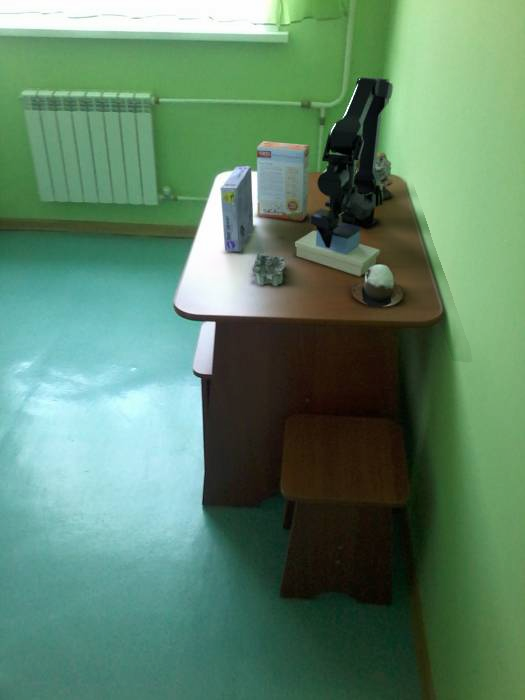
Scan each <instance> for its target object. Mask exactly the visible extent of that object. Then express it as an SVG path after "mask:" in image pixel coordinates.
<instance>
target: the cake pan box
mask: <svg viewBox="0 0 525 700" xmlns="http://www.w3.org/2000/svg"><path fill="white" fill-rule="evenodd" d="M252 177H253V176H252V166H247V165H246V166H235V168H234V169H233V170H232V172H231V173H230V175H229V176H228V177H227V178H226V180H225V182H224V183H223V184H222V186H221V187H220V199H221V200H220V201H221V214H222V227H223V228H222V229H223V242H224V251H225V252H233V253H241V252H242V250H243V247H244V246H245V244H246V243H247V241H248V239H249V237H250V235H251V232H252V230H253V228H254V207H253V205H254V203H253V187H252V186H253V183H252Z"/></svg>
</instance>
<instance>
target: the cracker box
mask: <svg viewBox="0 0 525 700" xmlns="http://www.w3.org/2000/svg"><path fill="white" fill-rule="evenodd" d="M309 169H310V145H309V144H299V143H298V144H297V143H288V142H287V143H286V142H276V141H265V140H263V141H262V142H261V143H259V145H258V146H256V183H257V185H256V186H257V188H256V189H257V194H256V195H257V197H256V199H257V201H256V202H257V216H258V217H263V218H264V217H265V218H273V219H281V220H289V221H297V222H303V221H304V220H305V218H306V216H307V215H308V200H309V199H308V198H309V173H310V171H309Z"/></svg>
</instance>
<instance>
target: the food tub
mask: <svg viewBox="0 0 525 700" xmlns="http://www.w3.org/2000/svg"><path fill="white" fill-rule="evenodd" d="M338 225H339V226H338V227H337V228H336V229H334V231H333V237H332V242H331V246H330V248H327V247H326V246H325V244H324V242H323V240H322V238H321V235H320V233H319V231H318V230H317V228H316V227H315V231H317V235H316V246H319V247H323V248H326V249H329V250H332V251H336V252H339V253H342V254H345V255H347V254H348V253H349V252H351V251H352V250H354V249H355V248H356V247H358V246H359V244H360V235H361V231H362V226H358V225H355V224H353V225H351V224H347V223H344V222H342V221H340V220H339V223H338Z"/></svg>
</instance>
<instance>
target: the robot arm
mask: <svg viewBox="0 0 525 700" xmlns="http://www.w3.org/2000/svg"><path fill="white" fill-rule="evenodd" d="M355 82H356V83H355V90H354V92H353V95H352V97H351V100H350V102H349V105H348V106H347V109H346V111H345V113H344V116H343V117H342V118H341V119H340V120H337V121H336V122H335V124H334V125H333V127H332V129H331V131H329V133H328V134H327V139H326V142H325V145H324V150H323V154H322V159H321V161H322V162H326V163H327V165H326V169H324V170H323V172H321V174H320V175H319V177H318V179H317V183H316V184H317V189H318V190H319V191H320V193H321V194H323V195H324V196H327V197H328V200H327V201H325V202H324V206H325V208H326V207H327V208H329V210H328V209H325V208H319V209H317V210H315V211H314V212H313V213H311V214H310V215H309V224H310V225H312V226H313V227H315V229H316V228H317V230H318V231H319V233H320V235H321V238H322V240H323V242H324V244H325V246H326V247H327V248H330V246H331V242H332V237H333V231H334V229H336V228H337V227H338V226H339V225H338V223H339V221H340V217H341V222H344V223H347V224H351V225H355V226H358V227H361V228H362V227H363V228H366V229H368V228H371V227H372V226H373V225H375V224H377V223H378V222H379V218H376V217H375V210H376V208H378V207H380V206H383V201H384V200H383V192H382V188H381V186H380V176H379V174H378V172H377V170H376V158H377V152H378V148H379V138H380V129H381V122H382V121H381V120H382V114H383V112H384V110H385V109H386V108H387V106H388V105H389V102H390V99H391V98H392V95H393V83H391V82H390V79H389V78H381V77H369V76H361V77H358V78H357V79H356V81H355ZM330 152H331V153H330ZM359 158H360V161H359V170H358V171H357V173H356V174H355V176H354V173H355V164H356V162H357V160H359ZM317 230H316V231H317Z"/></svg>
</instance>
